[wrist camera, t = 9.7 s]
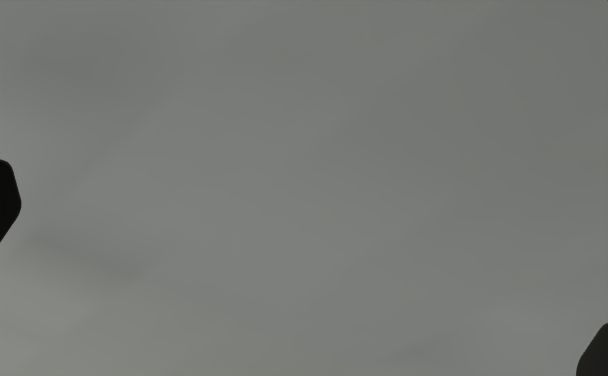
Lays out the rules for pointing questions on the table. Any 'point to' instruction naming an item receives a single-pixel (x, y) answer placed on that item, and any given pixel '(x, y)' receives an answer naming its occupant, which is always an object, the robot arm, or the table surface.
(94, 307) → the table surface
